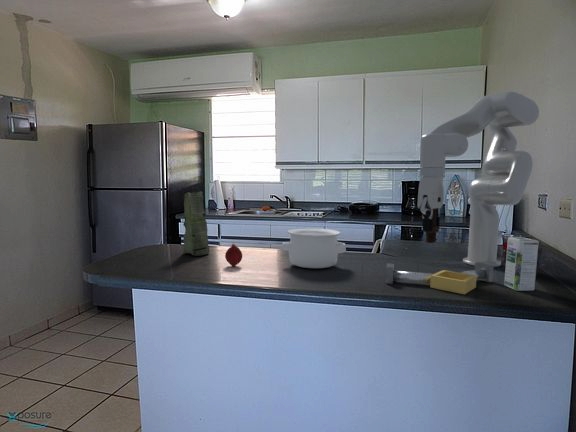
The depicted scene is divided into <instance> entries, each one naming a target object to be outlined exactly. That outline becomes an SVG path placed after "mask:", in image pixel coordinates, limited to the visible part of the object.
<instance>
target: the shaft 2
mask: <svg viewBox="0 0 576 432" xmlns="http://www.w3.org/2000/svg"><path fill="white" fill-rule="evenodd" d="M494 268H495V267H494V266H493V265H489V264H485V263H480V262H478V263H475V265H474V270H467V271H459V273H465V274H471V275H476V276H477V278H476V281H482V282H486V283H493V282H494Z"/></svg>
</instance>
